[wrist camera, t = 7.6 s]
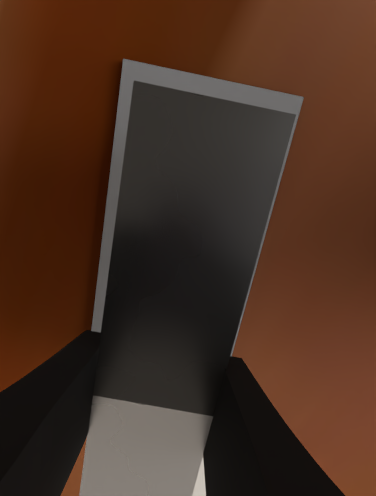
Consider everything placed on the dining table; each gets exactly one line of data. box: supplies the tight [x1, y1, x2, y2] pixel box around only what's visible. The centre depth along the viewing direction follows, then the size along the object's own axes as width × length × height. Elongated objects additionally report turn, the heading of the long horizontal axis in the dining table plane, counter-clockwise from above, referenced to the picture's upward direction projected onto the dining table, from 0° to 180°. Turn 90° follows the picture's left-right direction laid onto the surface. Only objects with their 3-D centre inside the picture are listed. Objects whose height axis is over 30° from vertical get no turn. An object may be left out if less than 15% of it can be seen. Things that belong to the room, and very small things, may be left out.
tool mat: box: [91, 59, 304, 356], centre depth 17 cm, size 8×18×1 cm, turn 169°
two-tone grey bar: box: [79, 80, 296, 496], centre depth 9 cm, size 3×14×4 cm, turn 169°
